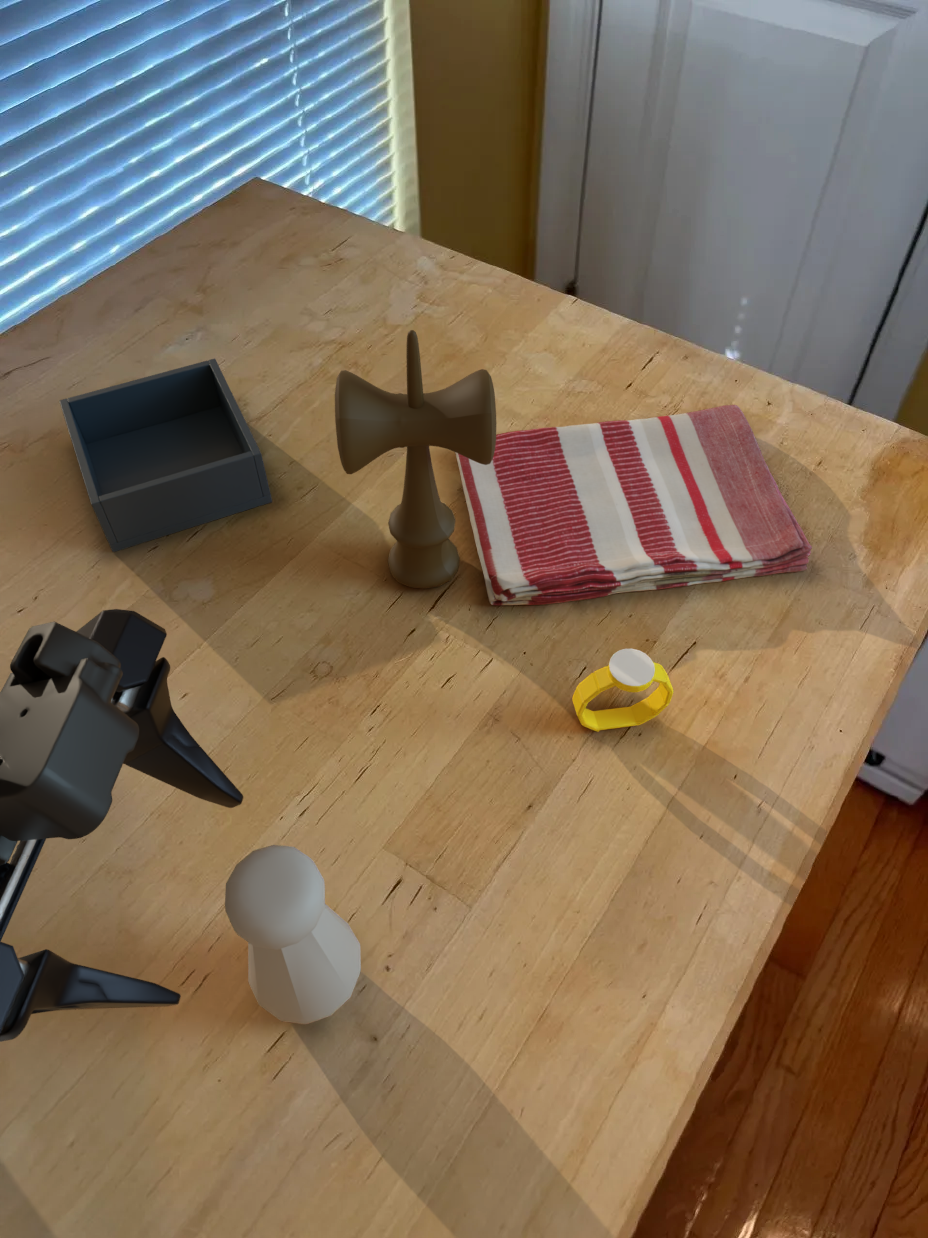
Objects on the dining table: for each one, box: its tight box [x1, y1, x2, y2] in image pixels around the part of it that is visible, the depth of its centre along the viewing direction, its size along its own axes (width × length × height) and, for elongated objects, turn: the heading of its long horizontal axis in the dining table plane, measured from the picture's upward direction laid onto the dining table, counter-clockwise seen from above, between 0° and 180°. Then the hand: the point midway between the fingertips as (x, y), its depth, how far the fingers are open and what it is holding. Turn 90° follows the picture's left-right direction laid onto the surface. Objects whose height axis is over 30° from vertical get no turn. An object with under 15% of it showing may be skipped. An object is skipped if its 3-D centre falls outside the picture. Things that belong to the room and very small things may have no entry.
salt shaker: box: [224, 844, 362, 1025], centre depth 45 cm, size 6×6×13 cm
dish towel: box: [454, 404, 813, 606], centre depth 70 cm, size 17×23×3 cm
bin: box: [59, 357, 273, 553], centre depth 72 cm, size 12×12×5 cm
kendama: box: [334, 329, 497, 589], centre depth 60 cm, size 6×10×20 cm, turn 93°
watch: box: [571, 648, 674, 733], centre depth 58 cm, size 6×3×6 cm, turn 101°
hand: (208, 895), depth 42 cm, fingers open, 9 cm apart
